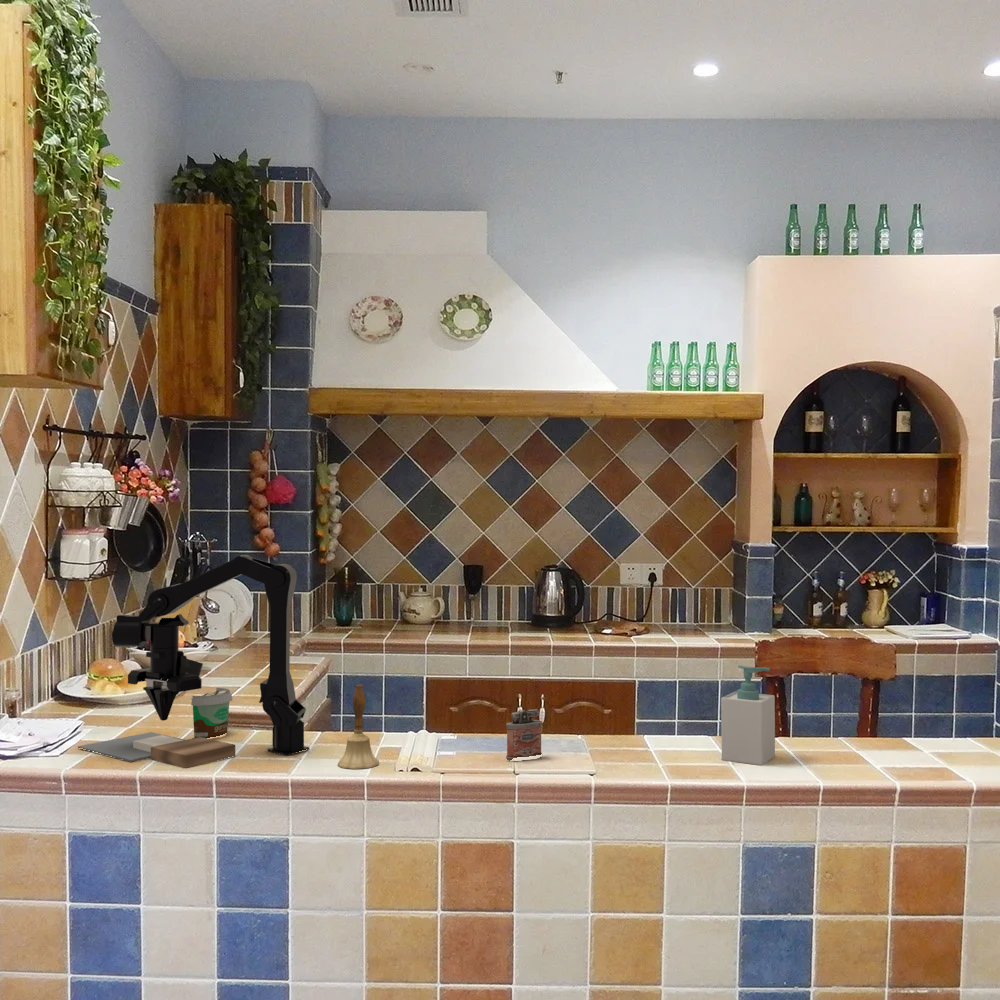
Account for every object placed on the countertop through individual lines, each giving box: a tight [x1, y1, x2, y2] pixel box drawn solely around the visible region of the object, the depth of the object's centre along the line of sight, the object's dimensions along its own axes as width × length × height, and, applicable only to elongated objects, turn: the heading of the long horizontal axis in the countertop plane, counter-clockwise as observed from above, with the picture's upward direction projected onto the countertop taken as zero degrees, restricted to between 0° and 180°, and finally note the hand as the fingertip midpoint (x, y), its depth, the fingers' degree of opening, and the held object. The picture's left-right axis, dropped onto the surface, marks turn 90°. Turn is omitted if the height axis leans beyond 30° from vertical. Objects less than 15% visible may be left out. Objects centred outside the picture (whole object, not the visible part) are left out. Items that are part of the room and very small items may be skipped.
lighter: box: [505, 709, 543, 760], centre depth 205 cm, size 8×3×10 cm, turn 117°
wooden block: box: [150, 737, 236, 769], centre depth 206 cm, size 12×12×2 cm
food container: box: [190, 687, 233, 738], centre depth 227 cm, size 12×6×10 cm, turn 168°
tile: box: [133, 734, 183, 752], centre depth 212 cm, size 10×7×2 cm
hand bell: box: [337, 684, 380, 770], centre depth 201 cm, size 8×8×16 cm
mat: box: [77, 731, 186, 763], centre depth 215 cm, size 20×18×1 cm
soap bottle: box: [720, 665, 776, 766], centre depth 205 cm, size 9×9×19 cm
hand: (163, 720), depth 212 cm, fingers closed
